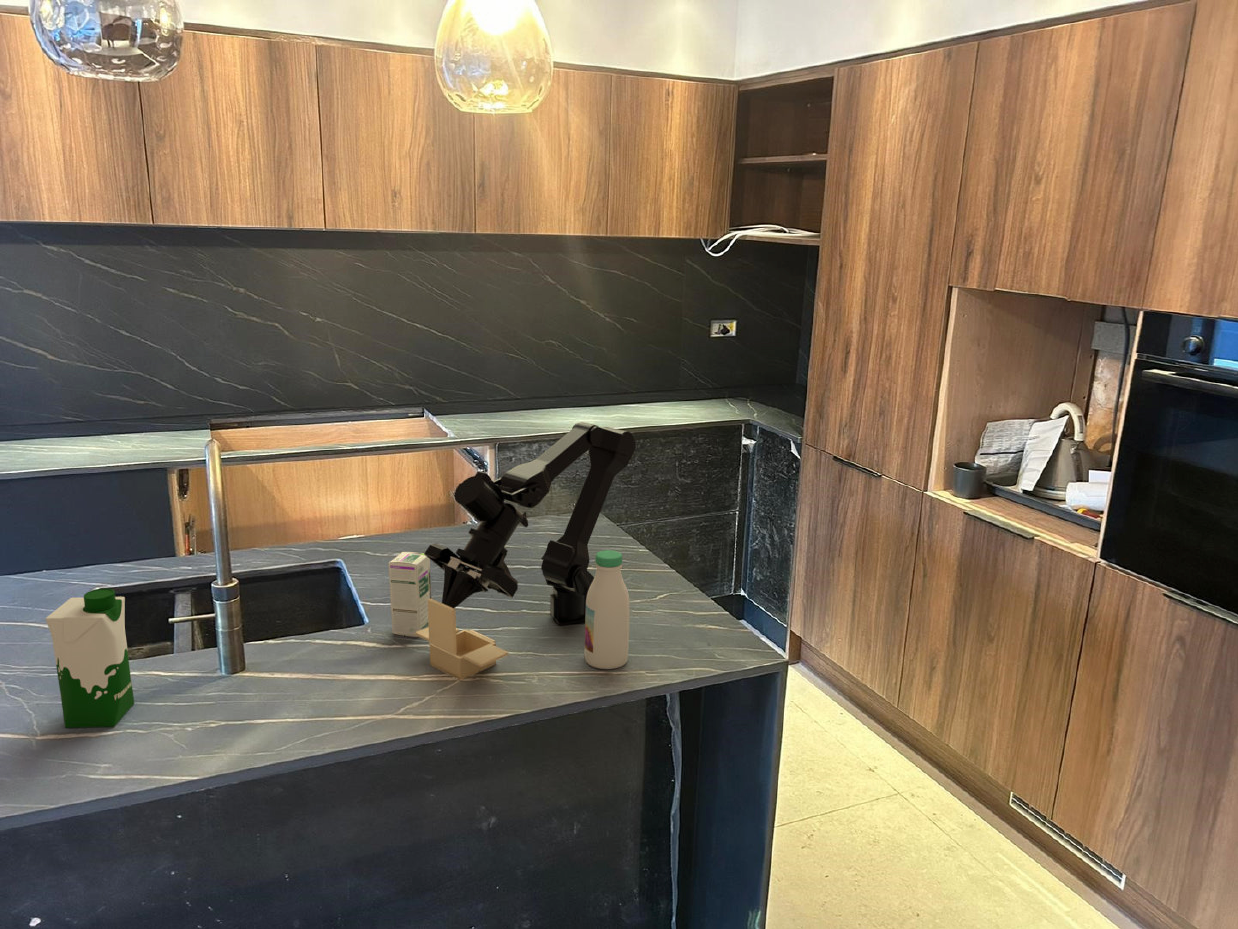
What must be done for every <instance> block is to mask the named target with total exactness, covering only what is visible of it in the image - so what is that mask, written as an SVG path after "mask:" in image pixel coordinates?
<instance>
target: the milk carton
mask: <svg viewBox="0 0 1238 929" xmlns="http://www.w3.org/2000/svg"><path fill="white" fill-rule="evenodd" d="M125 601H126V598H125V596H116V592H115V590H114V589H111V588H98V589H93V590H89V591H87V592H86V593H85V594H84V595H83V597H70V598H69V599H67V600H66V601H65V602H64V603H63V604H61V605H60V606H59V607H58V608H56V609H55V610H54V611H53V612H51V613H50V614H49V615H48V616H46V618H45V621H46V624H47V627H48V629H49V632H50V636H51V639H52V645H53V646H52V647H53V652H54V659H55V665H56V671H57V672H56V673H57V679H58V687H59V692H60V702H61V708H62V714H63V715H62V716H63V722H64V728H65V729H67V728H69V729H71V728H72V729H73V728H115V727H116V725H118V723H119V722H120V721H121V719H122V718H124V717H125V715H126V714H127V712H128V711H130V709H131V708H132V706H133V705H134V704H135V698H134V690H133V685H132V678H131V677H132V676H131V675H132V674H131V669H130V659H129V651H128V643H127V636H126V628H125V624H126V622H125V616H126V615H125V614H126V613H125V610H126V608H125V603H126V602H125Z"/></svg>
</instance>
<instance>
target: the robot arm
mask: <svg viewBox="0 0 1238 929" xmlns="http://www.w3.org/2000/svg"><path fill="white" fill-rule="evenodd" d="M636 446H637V444H636V441H635V436H634V435H633V433H632V432H630V431H627V430H623V429H618V428H614V427H609V426H601V427H600V426H599V425H598V424H594V423H589V422H584V421H580V422H577V423H575V424H573V426H572V428H571V430H570V431H568V432H567V433H566V434H564V436H562V437H561V438H559V440H557V441H556V442H554V444H553V445H551V446H550V447H549V448H548V449H546V450H545V451H544V452H542V454H540V455H539V456H537V458H535V459H534V460H532V461H529V462H525V463H522V464H518V465H516V466H515V467H513V468H510V469H509V470H507V471H505V473H504V474H503V475H502V476H501V477H499V478H497V479H495V480H492V478H491V476H490V475H489V474H488V473H487V472H484V471H480V470H478V471H477V472H476V473H475V475H473V476H469V477H468V478H467V477H466V479H464V480H463V481H462V482H461V483H459V484H458V485H457V487H456V489H455V492H454V500H455V502H456V503H457V504H458V505H460V506H461V508H462V509H464V510H465V511H466V512H467V514H469V515H470V516H471V517H473V519H475V520H476V521H477V522H480V523H479V525H478V526H477V528H476V529H475V528H472V527H471V528H470V530H469V531H468V534H469V536H471V537H470V539H469V540H468V542H467V543H466V546H464V548H463V549H461V548H459V547H458V548H457V550H456V552H454V551H453V550H451V549H450V548H449V547H447V546H444V545H441V544H440V543H438V542H437V543H436V542H435V543H432V544H429V545H428V547H427V549H426V550H425V552H424V555H425V556H427V557H428V558H429V559H430V562H431V561H432V563H434V564H435V565H436V566H437V567H439V569H441V570H443V572H444V578H443V588H442V589H443V590H442V596H441V597H442V598H441V603H443V604H445V605H447V606H449V607H452V608H454V609H456V608H457V607H458V606H460V605H461V604H462V603H463V602H464V601H466V600H467V599H468V598H469V597H470V596H472V595H473V594H476V593H481V592H484V593H487V592H488V591H489V590H494V591H496V592H497V593H498V594H502V595H504V596H505V597H506V596H507V597H509V598H513V597H514V596H515V594H516V592H517V591H518V589H519V581H518V580H517V579H516V578H515V577H513V576H512V574H511V572H510V569H509V567H508V565H507V563H506V562H505V559H506V557H507V555H508V552H509V550H507V548H505V546H506V545H507V544H508V542H509V540H510V539H511V537H512V535H513V534H514V533H515V531H516V530H517V527H518V526H520V527H523V528H528V527H529V521H528V517H527V511H524V510H521V509H517V508H516V507H515V506H514V505H518V506H521V507H524V508H528V509H534V508H536V507H537V506H538V505H539V504H540V503H541V502H542V501H543V500H544V499H545V497H546V496H547V494H548V493H549V492H550V490H551V486H552V483H553V481H554V480H555V479H556V478H557V477H559V475H561V474H562V473H563V472H564V471H566V470H567V469H568V468H569V467H570V466H571V465H573V463H575V462H576V461H577V460H579V458H580V457H582V456H583V455H584V454H585V453H587V451H588V458H589V464H590V467H589V471H588V473H587V475H586V477H585V481H584V482H583V485H582V489H581V490H580V493H579V495H578V498H577V500H576V503H575V506H574V508H573V511H572V513H571V515H570V518H569V521H568V523H567V525H566V528H565V530H564V533H563V535H562V536H561V537H559V539H557V540H552V539H551V540H549V541H548V543H547V546H546V550H545V552H544V554H543V556H542V557H541V560H542V563H541V565H540V570H542V572H541V573H542V576H543V577H544V579H545V583H546V585H547V586H550V587H552V593H551V594H550V597H549V599H550V604H549V605H550V607H549V610H550V611H549V614H550V615H551V617H552V619H554V620H555V622H556V623H557V625H559V626H563V625H570V624H579V623H585V613H586V598H587V593H588V590H589V588H590V585H591V584H592V582H593V579H594V577H595V576H593V574H591V573H590V571H589V570H588V568H589V564H590V555H589V554H590V553H589V547H588V546H589V542H590V539H591V536H592V534H593V532H594V529H595V527H596V524H597V521H598V519H599V517H600V514H601V511H602V508H603V507H604V504H605V502H606V500H607V496H608V493H609V491H610V489H611V486H612V484H613V480H614V479H615V476H617V475H618V474H619V473H620V472H622V470H624V469H625V468H626V467H627V466H628V464H629V463H630V461H631V459H632V457H633V455H634V453H635V451H636ZM507 502H508V503H507ZM513 504H514V505H513Z"/></svg>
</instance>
